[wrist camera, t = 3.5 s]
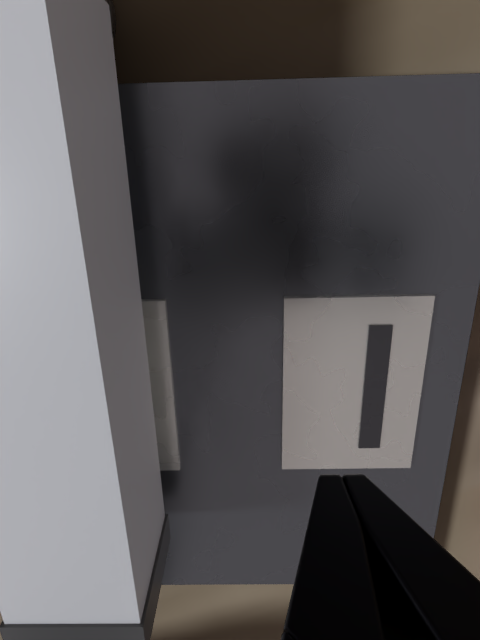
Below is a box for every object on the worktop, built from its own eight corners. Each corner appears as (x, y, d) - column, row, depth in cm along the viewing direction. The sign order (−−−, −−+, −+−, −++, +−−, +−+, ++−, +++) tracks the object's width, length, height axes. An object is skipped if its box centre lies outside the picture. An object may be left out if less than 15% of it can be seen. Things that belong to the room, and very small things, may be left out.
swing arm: (-79, -107, 10) (-298, -289, 6) (101, -114, 10) (3, -303, 6) (64, 538, 17) (8, 654, 13) (170, 537, 17) (147, 654, 13)
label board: (415, 559, 20) (434, 605, 18) (79, 561, 20) (61, 606, 18) (517, -62, 12) (574, -110, 10) (-47, -42, 12) (-106, -84, 10)
